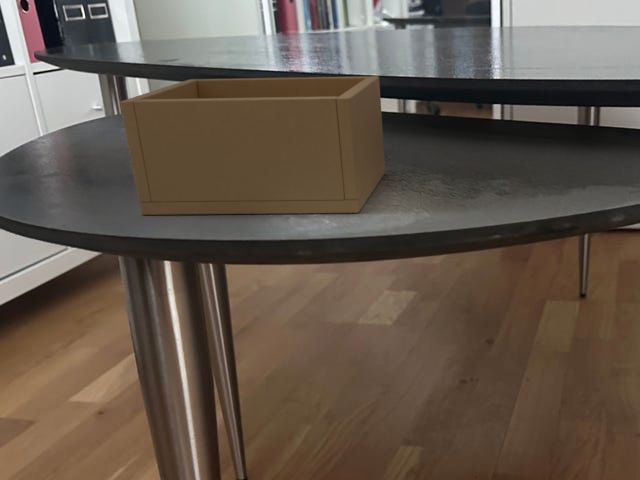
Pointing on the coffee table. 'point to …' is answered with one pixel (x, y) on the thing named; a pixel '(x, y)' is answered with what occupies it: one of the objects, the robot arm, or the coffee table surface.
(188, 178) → the open wooden box
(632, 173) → the coffee table surface
